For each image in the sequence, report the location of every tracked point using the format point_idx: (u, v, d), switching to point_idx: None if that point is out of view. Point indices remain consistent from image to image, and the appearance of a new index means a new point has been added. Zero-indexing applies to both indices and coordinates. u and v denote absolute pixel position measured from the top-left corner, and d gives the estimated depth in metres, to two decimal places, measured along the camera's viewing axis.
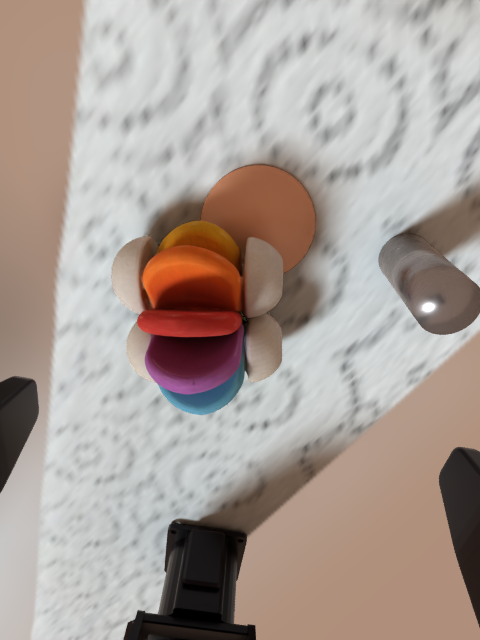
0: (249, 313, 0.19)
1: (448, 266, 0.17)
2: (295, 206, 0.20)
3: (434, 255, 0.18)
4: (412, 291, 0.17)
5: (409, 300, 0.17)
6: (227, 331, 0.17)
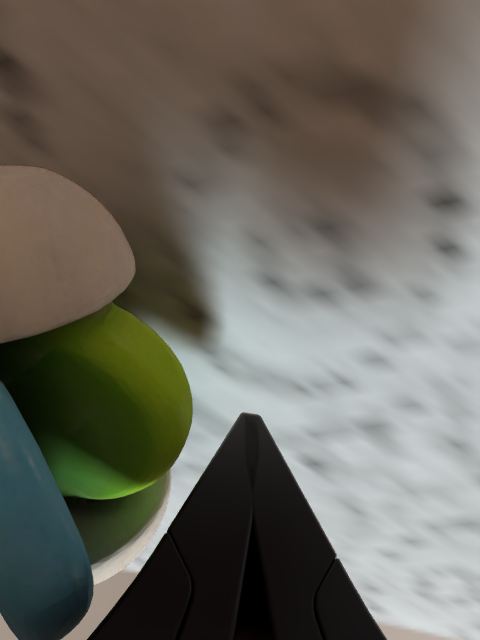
0: None
1: None
2: None
3: None
4: None
5: None
6: None
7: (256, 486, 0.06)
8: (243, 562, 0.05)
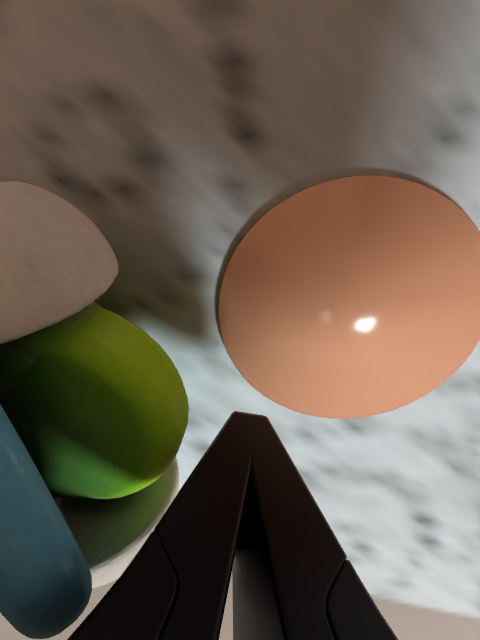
0: None
1: None
2: (314, 231, 0.08)
3: None
4: None
5: None
6: None
7: (265, 487, 0.06)
8: (230, 560, 0.05)
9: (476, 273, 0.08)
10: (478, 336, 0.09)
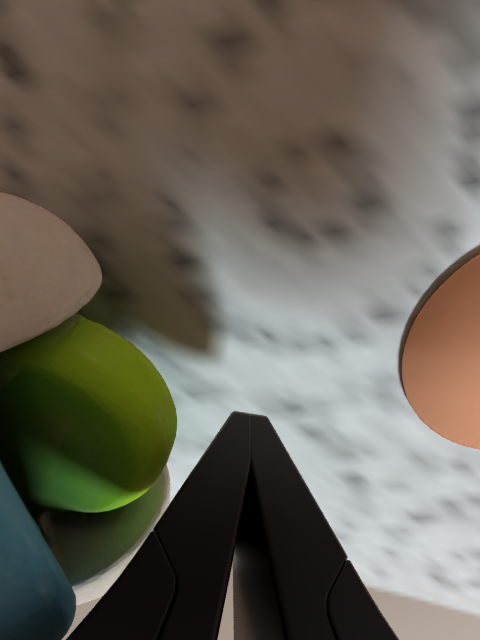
0: None
1: None
2: None
3: None
4: None
5: None
6: None
7: (265, 487, 0.06)
8: (229, 560, 0.05)
9: None
10: None
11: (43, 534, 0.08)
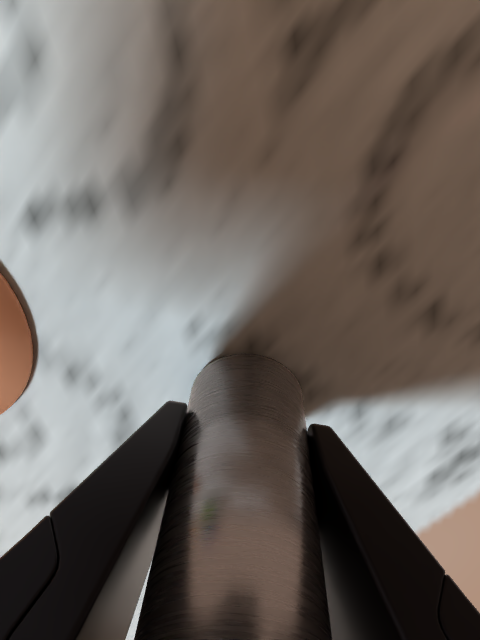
0: None
1: (210, 599, 0.05)
2: None
3: (216, 495, 0.06)
4: None
5: None
6: None
7: (349, 500, 0.06)
8: (120, 544, 0.05)
9: None
10: None
11: None
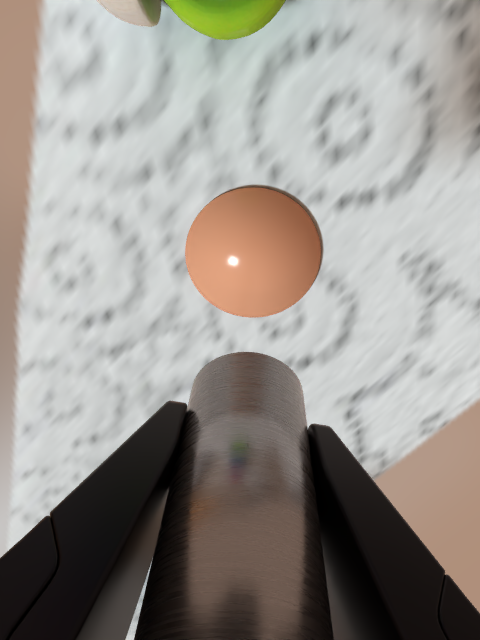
0: None
1: (211, 596, 0.05)
2: (297, 236, 0.17)
3: (217, 492, 0.06)
4: None
5: None
6: None
7: (349, 500, 0.06)
8: (120, 544, 0.05)
9: (274, 307, 0.19)
10: (242, 315, 0.19)
11: None
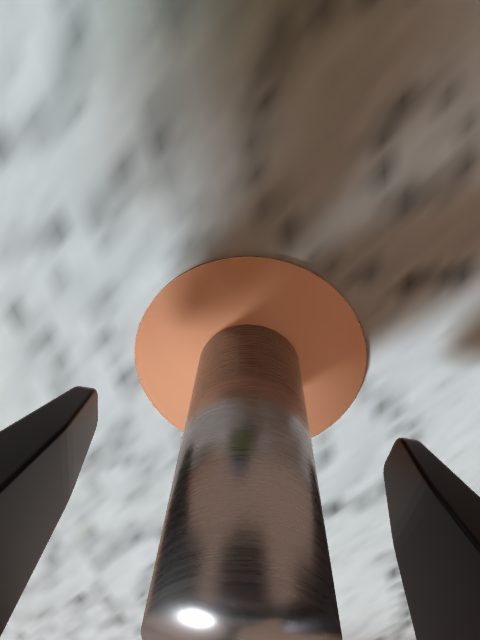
0: None
1: (226, 496, 0.06)
2: (327, 336, 0.10)
3: (227, 427, 0.07)
4: None
5: None
6: None
7: (466, 518, 0.06)
8: None
9: None
10: None
11: None
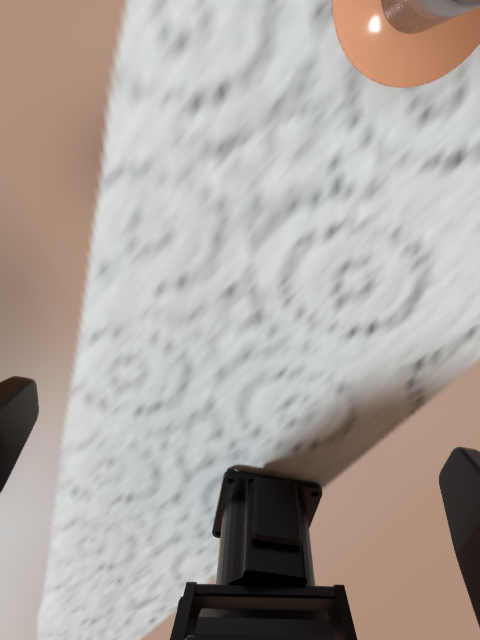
0: None
1: None
2: None
3: None
4: None
5: None
6: None
7: None
8: None
9: (433, 70, 0.15)
10: (391, 84, 0.16)
11: None
